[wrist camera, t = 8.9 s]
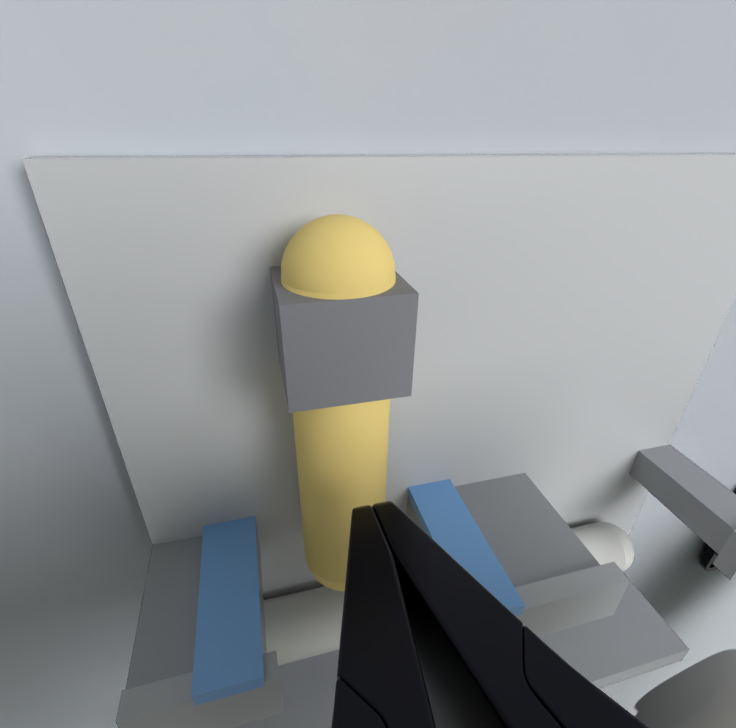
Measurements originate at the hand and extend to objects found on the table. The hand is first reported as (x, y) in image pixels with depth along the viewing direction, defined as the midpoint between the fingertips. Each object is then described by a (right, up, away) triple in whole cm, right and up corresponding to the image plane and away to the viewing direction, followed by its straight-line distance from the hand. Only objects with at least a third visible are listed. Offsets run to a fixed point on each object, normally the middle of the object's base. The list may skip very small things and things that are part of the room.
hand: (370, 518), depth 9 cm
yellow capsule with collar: (-1, +2, +3) cm, 4 cm away
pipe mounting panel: (+3, 0, +6) cm, 7 cm away
